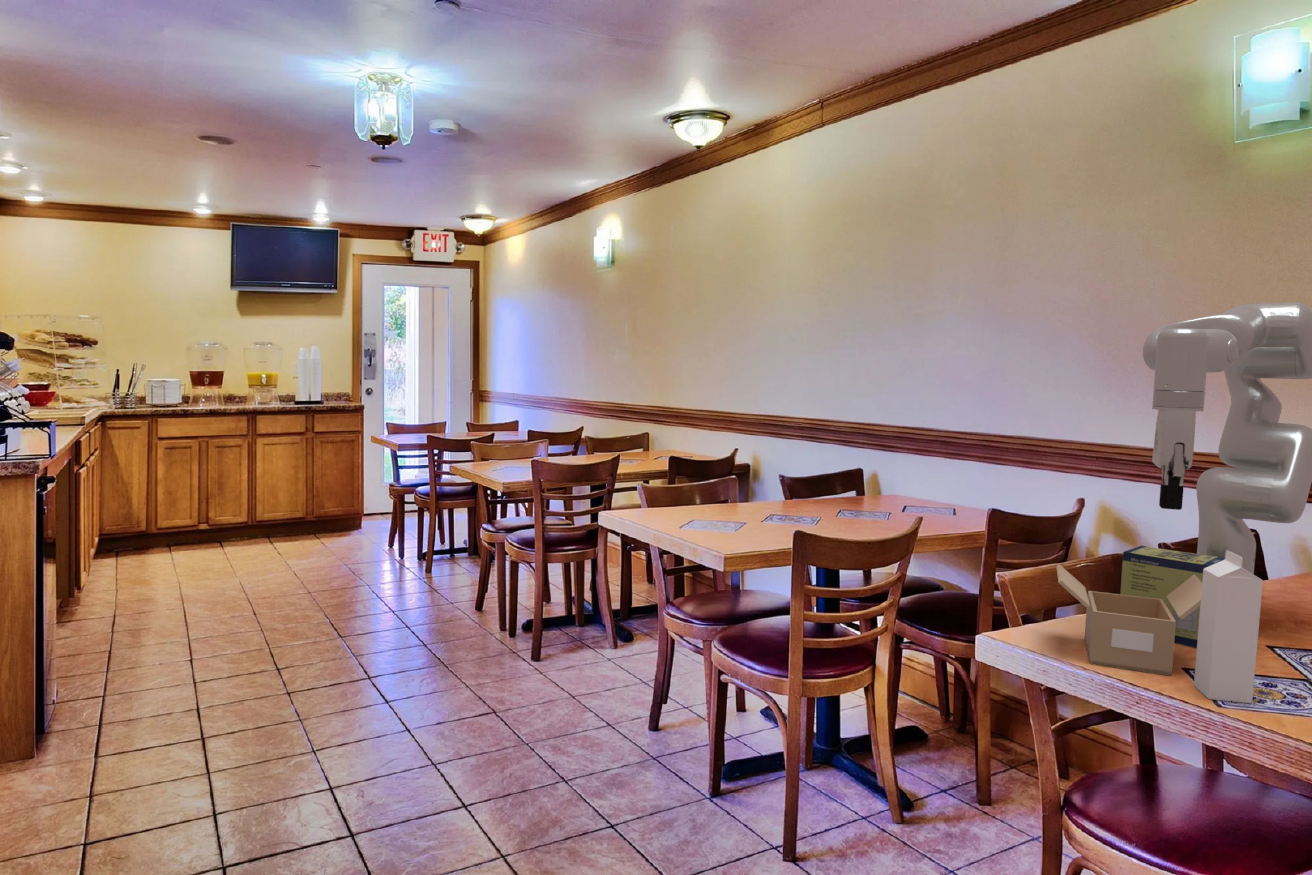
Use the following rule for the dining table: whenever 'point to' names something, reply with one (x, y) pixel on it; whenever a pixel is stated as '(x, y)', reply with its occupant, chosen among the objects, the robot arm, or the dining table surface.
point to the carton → (1130, 633)
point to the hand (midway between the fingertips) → (1170, 508)
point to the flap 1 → (1072, 585)
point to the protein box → (1165, 581)
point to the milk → (1228, 631)
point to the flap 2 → (1186, 597)
